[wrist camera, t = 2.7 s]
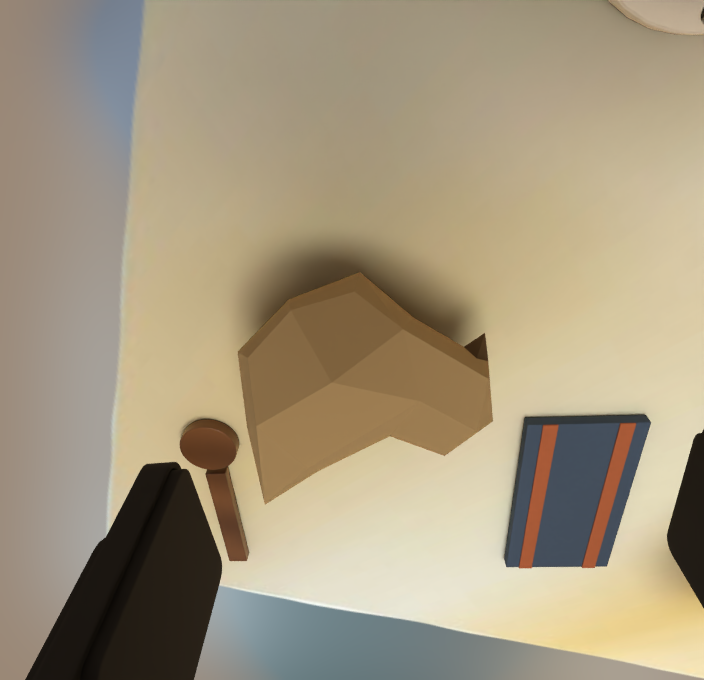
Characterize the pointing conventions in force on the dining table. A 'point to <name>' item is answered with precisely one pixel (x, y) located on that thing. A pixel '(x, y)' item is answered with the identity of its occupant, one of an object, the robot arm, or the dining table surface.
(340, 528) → the dining table surface
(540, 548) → the tea towel
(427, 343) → the low-poly potato
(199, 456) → the wooden spoon
